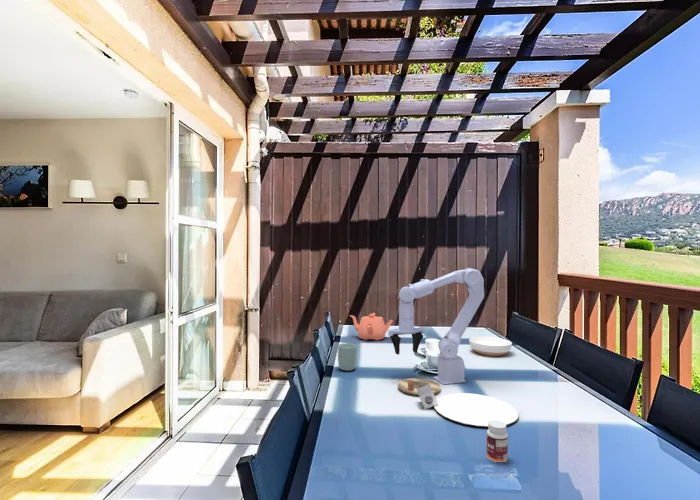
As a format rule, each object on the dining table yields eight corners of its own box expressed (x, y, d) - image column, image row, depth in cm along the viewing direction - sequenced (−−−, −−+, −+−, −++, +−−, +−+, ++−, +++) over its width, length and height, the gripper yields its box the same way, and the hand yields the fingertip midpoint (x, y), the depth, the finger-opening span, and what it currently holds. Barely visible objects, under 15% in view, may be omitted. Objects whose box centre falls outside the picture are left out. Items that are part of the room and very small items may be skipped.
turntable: (410, 377, 150) (410, 367, 150) (447, 386, 141) (447, 375, 141) (389, 388, 138) (389, 377, 138) (428, 398, 129) (428, 387, 129)
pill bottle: (483, 454, 96) (483, 419, 96) (501, 453, 96) (502, 419, 96) (491, 464, 91) (492, 428, 91) (511, 463, 92) (511, 428, 92)
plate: (476, 439, 104) (476, 432, 104) (417, 406, 126) (417, 400, 126) (537, 420, 116) (537, 414, 116) (473, 392, 138) (473, 388, 138)
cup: (354, 373, 158) (354, 348, 158) (335, 371, 160) (335, 347, 160) (358, 367, 166) (358, 343, 166) (340, 366, 167) (340, 342, 167)
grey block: (429, 383, 128) (432, 390, 122) (434, 396, 128) (438, 404, 122) (416, 389, 128) (419, 396, 122) (422, 402, 128) (425, 409, 122)
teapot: (348, 337, 221) (348, 313, 221) (373, 333, 232) (374, 310, 232) (368, 344, 206) (369, 318, 206) (394, 339, 217) (394, 314, 217)
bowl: (515, 352, 193) (515, 339, 193) (507, 361, 176) (507, 347, 176) (474, 346, 203) (475, 334, 203) (464, 355, 186) (464, 342, 186)
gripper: (418, 315, 158) (417, 349, 158) (385, 317, 153) (384, 351, 153) (427, 318, 151) (426, 353, 151) (392, 320, 146) (392, 356, 146)
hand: (406, 353), depth 151 cm, fingers open, 7 cm apart
